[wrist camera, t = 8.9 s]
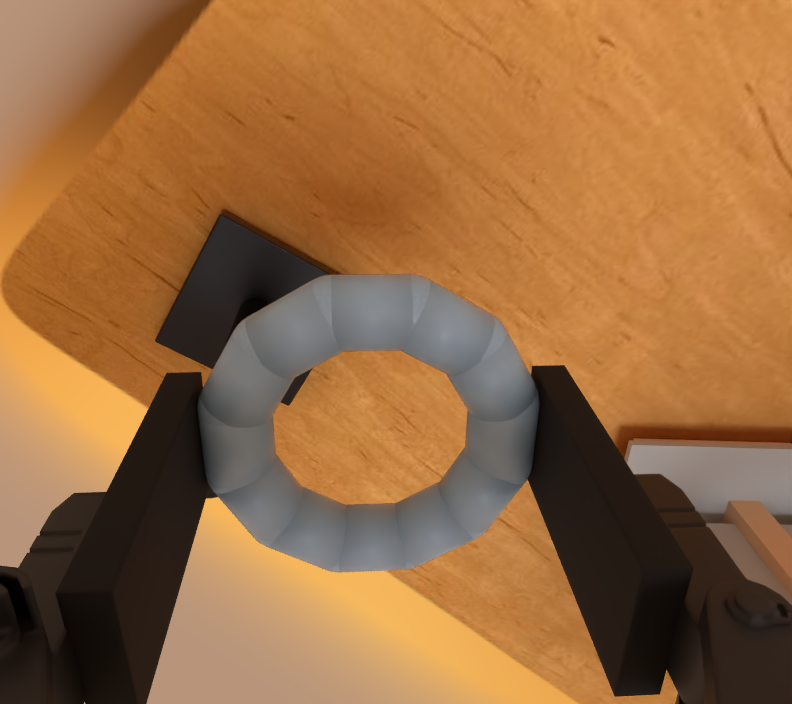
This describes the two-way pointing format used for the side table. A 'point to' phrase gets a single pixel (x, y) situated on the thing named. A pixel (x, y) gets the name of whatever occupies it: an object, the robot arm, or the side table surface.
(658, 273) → the side table surface
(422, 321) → the ring
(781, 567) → the desk lamp
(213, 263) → the post
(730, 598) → the robot arm
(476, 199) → the side table surface
